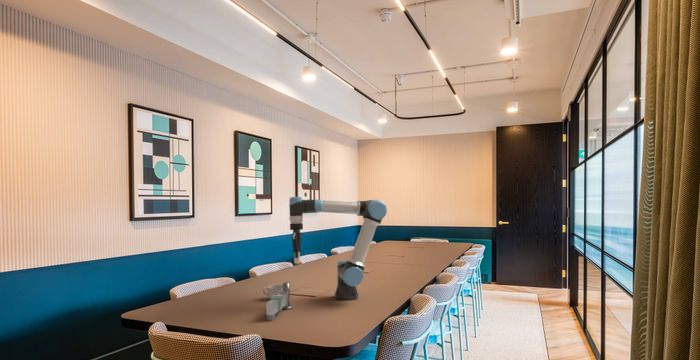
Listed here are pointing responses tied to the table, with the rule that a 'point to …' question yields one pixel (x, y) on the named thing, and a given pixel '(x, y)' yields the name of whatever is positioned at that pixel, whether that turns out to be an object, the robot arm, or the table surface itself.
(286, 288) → the riser post
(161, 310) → the table surface
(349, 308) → the table surface
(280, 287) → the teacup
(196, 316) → the table surface
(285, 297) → the elbow
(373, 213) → the robot arm
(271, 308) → the duct stub
